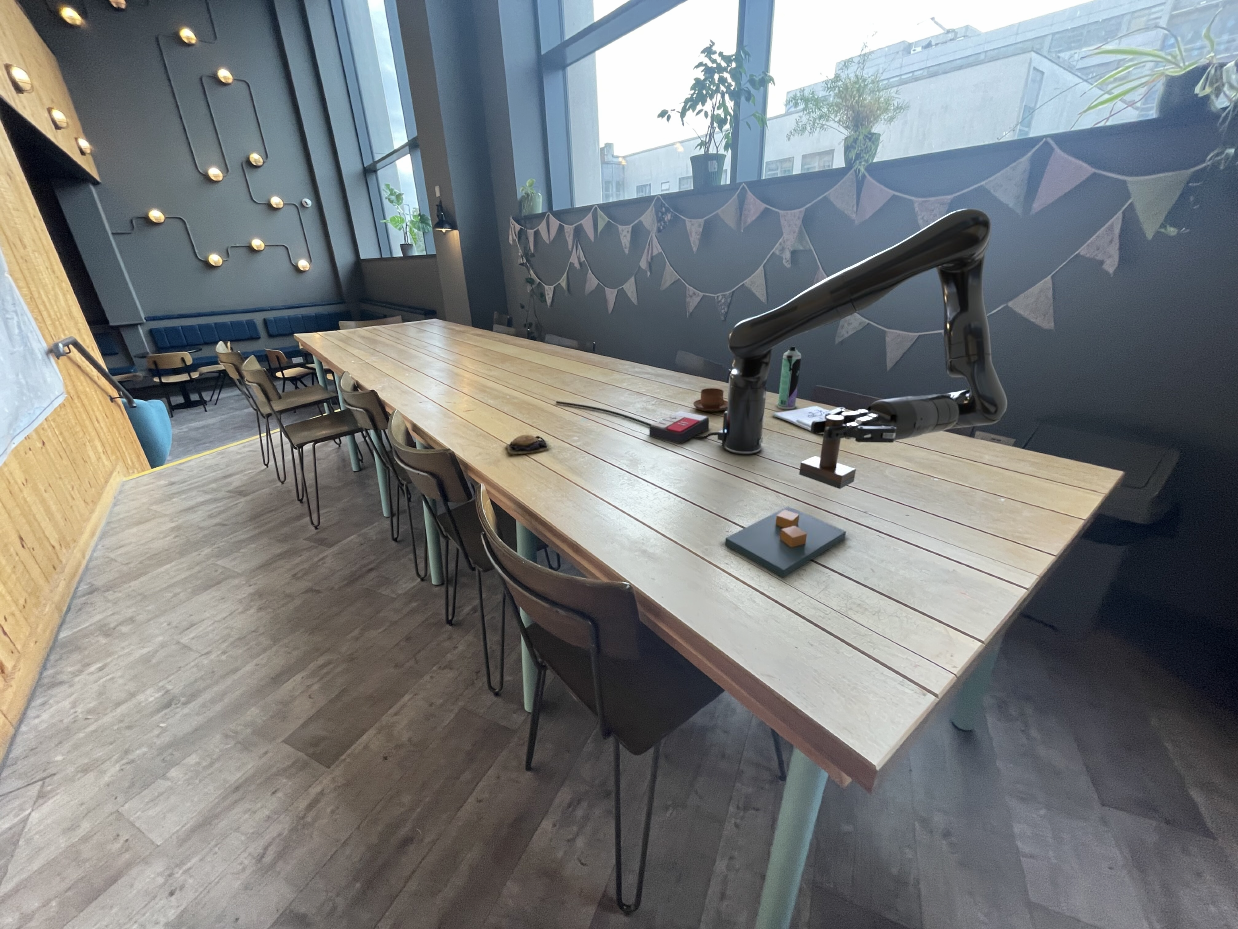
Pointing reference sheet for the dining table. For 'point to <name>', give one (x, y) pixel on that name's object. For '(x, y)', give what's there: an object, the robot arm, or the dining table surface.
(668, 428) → the red-topped box
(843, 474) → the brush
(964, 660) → the dining table surface
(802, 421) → the folded bicycle print cloth
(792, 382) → the spray can
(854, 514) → the dining table surface
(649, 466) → the dining table surface
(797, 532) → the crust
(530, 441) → the brown domed lump
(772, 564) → the tray
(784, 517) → the brown wooden block
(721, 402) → the cup and saucer
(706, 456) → the dining table surface
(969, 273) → the robot arm
